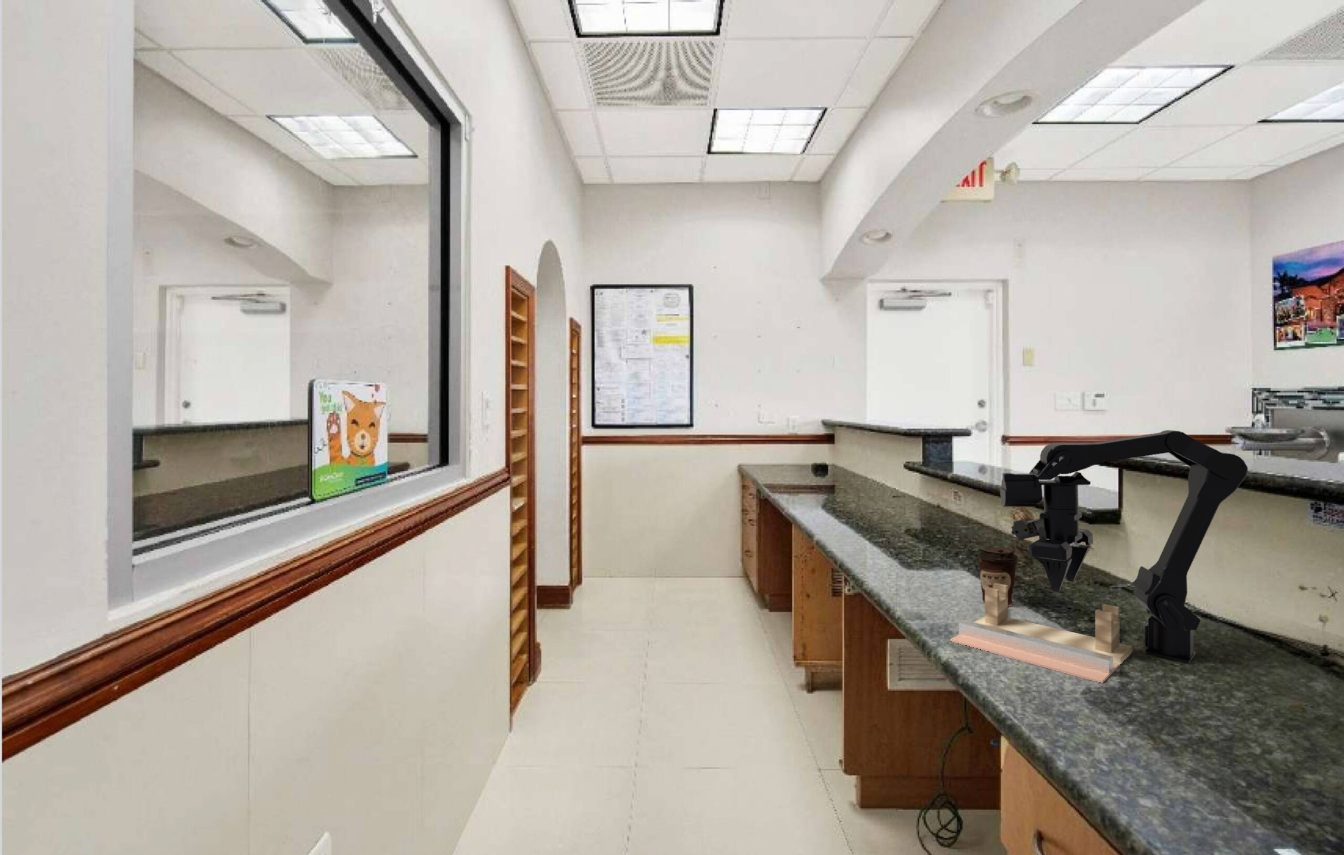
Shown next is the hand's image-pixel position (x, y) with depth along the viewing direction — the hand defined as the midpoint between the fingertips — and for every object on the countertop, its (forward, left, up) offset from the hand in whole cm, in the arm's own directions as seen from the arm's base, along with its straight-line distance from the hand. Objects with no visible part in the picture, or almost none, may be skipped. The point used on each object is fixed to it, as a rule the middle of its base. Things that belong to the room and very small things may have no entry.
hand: (1063, 586), depth 121 cm
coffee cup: (+19, -17, -12) cm, 28 cm away
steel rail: (+3, +9, -11) cm, 15 cm away
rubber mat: (+3, +9, -12) cm, 15 cm away
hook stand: (+3, -1, -12) cm, 12 cm away
